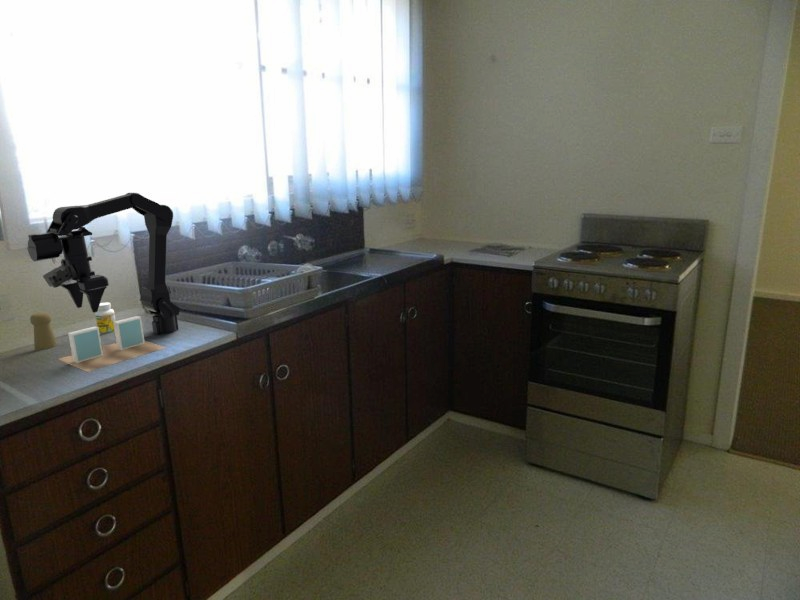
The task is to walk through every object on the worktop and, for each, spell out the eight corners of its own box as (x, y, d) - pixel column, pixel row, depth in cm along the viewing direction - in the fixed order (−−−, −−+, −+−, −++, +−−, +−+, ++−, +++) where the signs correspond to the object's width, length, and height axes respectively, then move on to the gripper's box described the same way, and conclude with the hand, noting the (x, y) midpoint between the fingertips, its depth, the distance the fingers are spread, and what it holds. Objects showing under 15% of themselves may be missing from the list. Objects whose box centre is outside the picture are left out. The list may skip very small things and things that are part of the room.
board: (135, 340, 175) (135, 337, 175) (167, 350, 165) (166, 347, 165) (58, 362, 159) (57, 358, 159) (87, 375, 149) (86, 371, 148)
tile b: (99, 354, 161) (95, 326, 159) (103, 355, 160) (98, 327, 158) (73, 361, 156) (68, 332, 154) (76, 363, 155) (71, 334, 153)
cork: (62, 345, 173) (56, 309, 170) (51, 352, 167) (44, 315, 165) (41, 346, 173) (34, 310, 170) (30, 353, 167) (22, 316, 164)
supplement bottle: (121, 330, 186) (116, 301, 184) (111, 336, 181) (107, 306, 179) (104, 331, 187) (99, 301, 184) (95, 336, 181) (90, 306, 179)
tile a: (141, 342, 170) (137, 315, 168) (145, 343, 169) (141, 317, 167) (117, 349, 165) (113, 321, 163) (121, 350, 164) (117, 322, 162)
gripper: (28, 257, 157) (41, 312, 161) (59, 263, 146) (72, 323, 150) (71, 249, 165) (82, 302, 169) (103, 254, 154) (114, 311, 158)
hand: (87, 309), depth 161 cm, fingers open, 9 cm apart
